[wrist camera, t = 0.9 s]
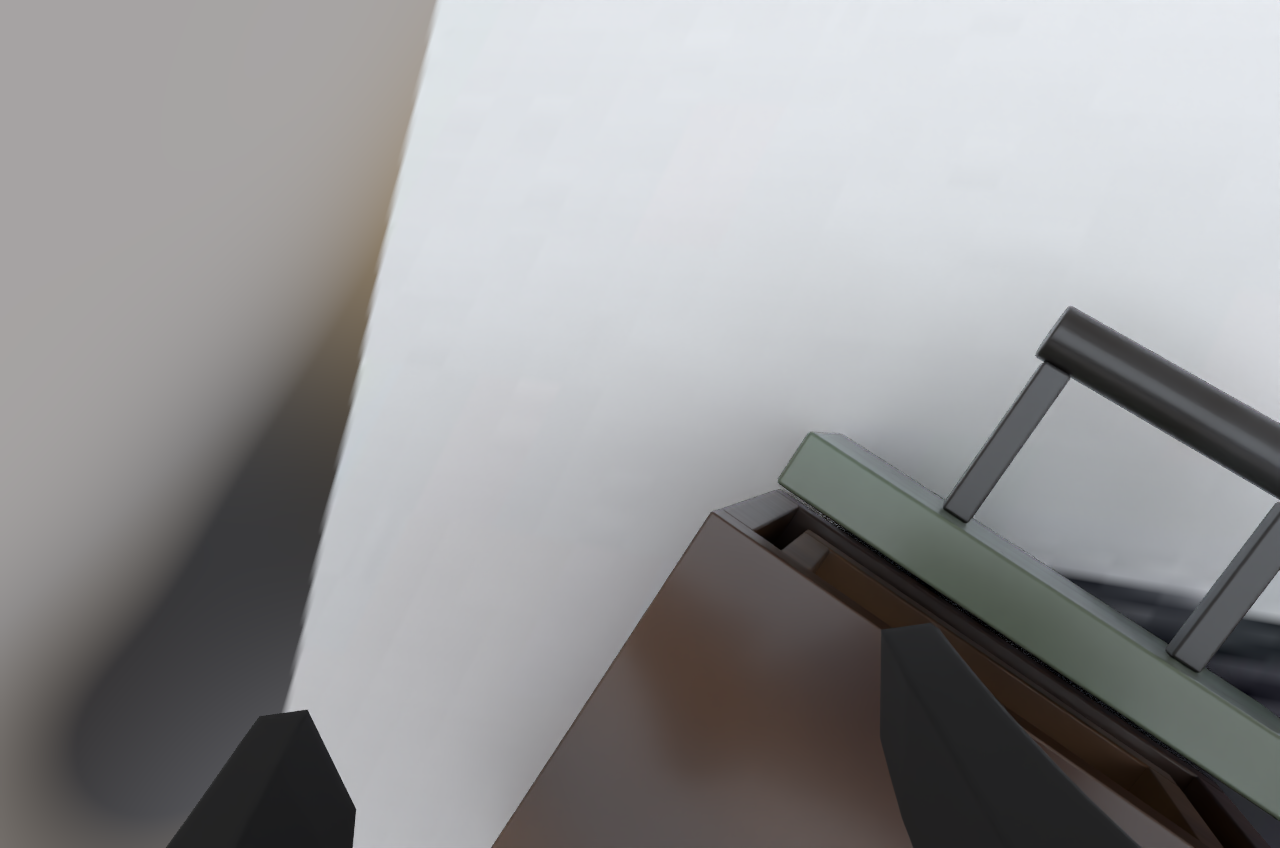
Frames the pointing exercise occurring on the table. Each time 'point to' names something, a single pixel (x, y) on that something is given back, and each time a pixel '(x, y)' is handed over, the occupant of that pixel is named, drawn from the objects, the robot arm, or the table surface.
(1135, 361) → the drawer
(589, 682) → the table surface
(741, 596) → the cabinet
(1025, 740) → the robot arm
